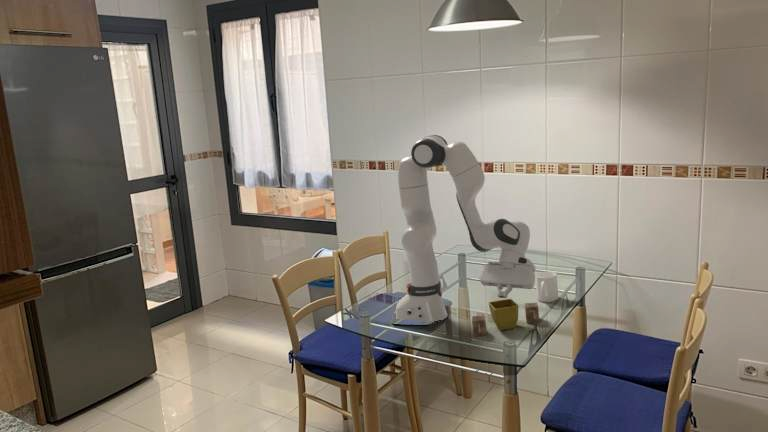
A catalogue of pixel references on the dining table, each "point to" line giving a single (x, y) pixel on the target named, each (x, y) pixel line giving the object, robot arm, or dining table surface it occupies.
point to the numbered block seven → (532, 312)
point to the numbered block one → (479, 326)
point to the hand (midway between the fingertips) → (502, 297)
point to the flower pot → (504, 313)
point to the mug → (546, 286)
